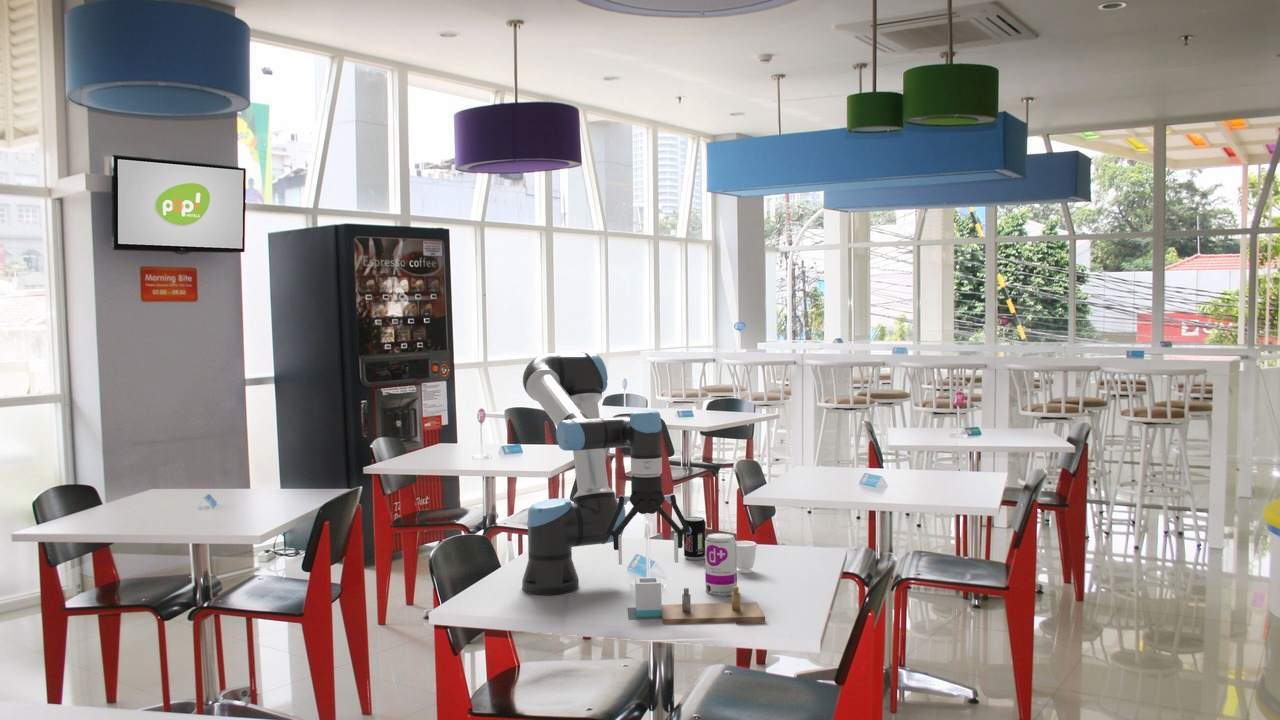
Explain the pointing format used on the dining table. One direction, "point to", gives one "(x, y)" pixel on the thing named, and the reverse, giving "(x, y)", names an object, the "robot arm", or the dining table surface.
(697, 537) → the beverage can
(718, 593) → the supplement can
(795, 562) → the dining table surface
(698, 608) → the pinboard
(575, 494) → the robot arm
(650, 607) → the sleeve
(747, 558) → the cup
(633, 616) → the mat
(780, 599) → the dining table surface
